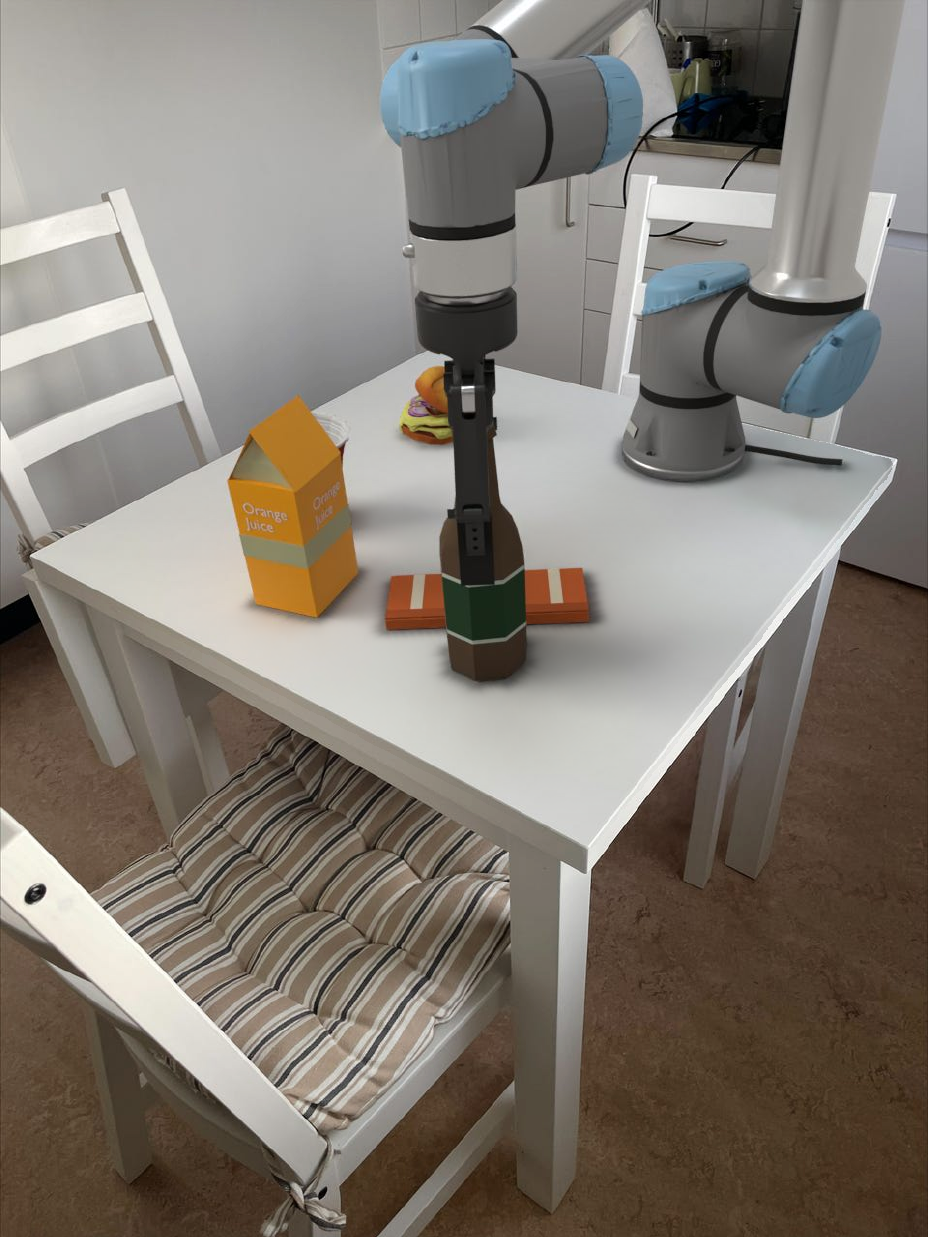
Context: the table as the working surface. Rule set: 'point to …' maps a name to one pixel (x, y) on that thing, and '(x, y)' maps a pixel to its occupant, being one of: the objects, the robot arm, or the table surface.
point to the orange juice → (293, 513)
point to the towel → (545, 594)
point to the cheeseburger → (427, 410)
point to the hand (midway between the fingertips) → (478, 539)
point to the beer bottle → (486, 596)
